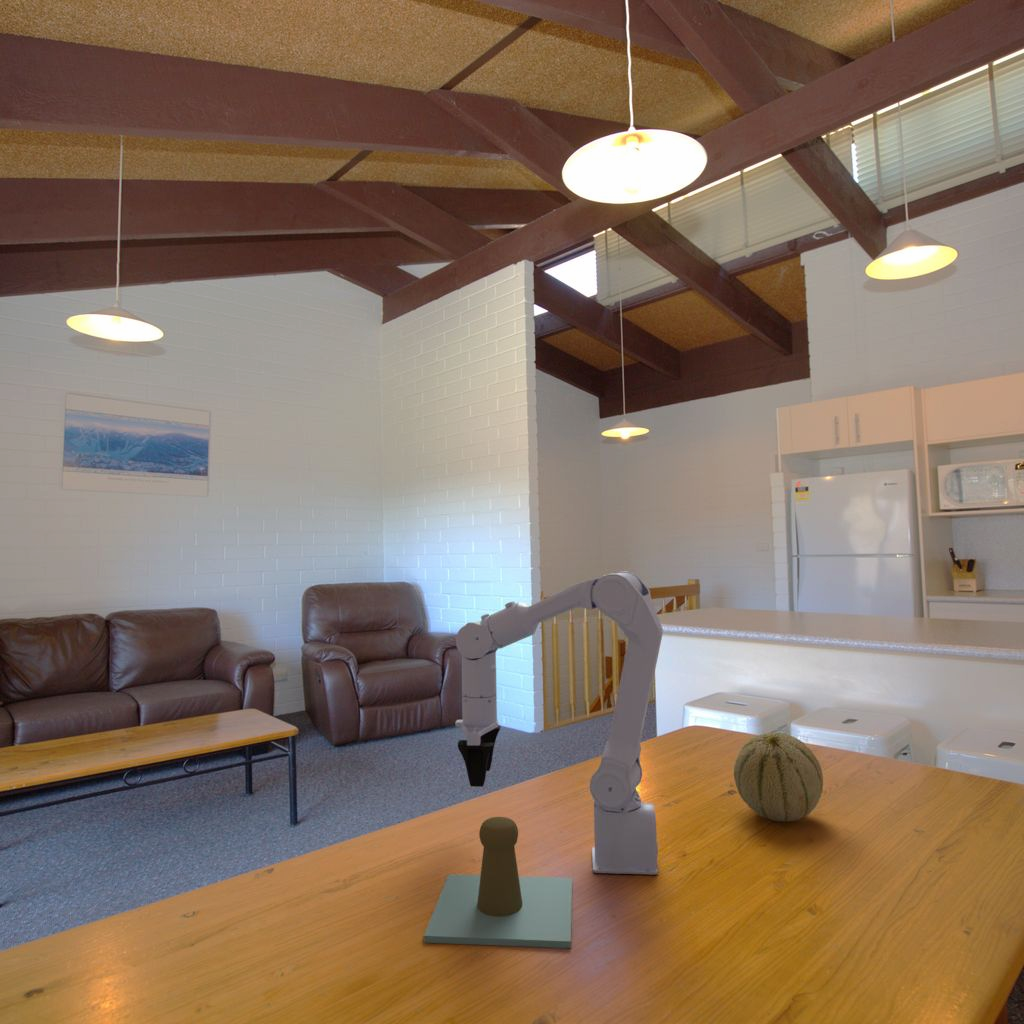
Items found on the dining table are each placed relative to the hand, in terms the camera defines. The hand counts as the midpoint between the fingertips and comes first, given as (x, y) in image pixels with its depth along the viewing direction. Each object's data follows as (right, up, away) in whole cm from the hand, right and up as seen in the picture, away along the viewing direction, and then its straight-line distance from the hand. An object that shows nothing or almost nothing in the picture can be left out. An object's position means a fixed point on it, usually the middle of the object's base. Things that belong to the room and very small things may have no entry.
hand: (480, 777), depth 114 cm
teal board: (+4, -9, -22) cm, 24 cm away
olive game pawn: (+4, -9, -22) cm, 24 cm away
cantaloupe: (+52, -10, +7) cm, 54 cm away
